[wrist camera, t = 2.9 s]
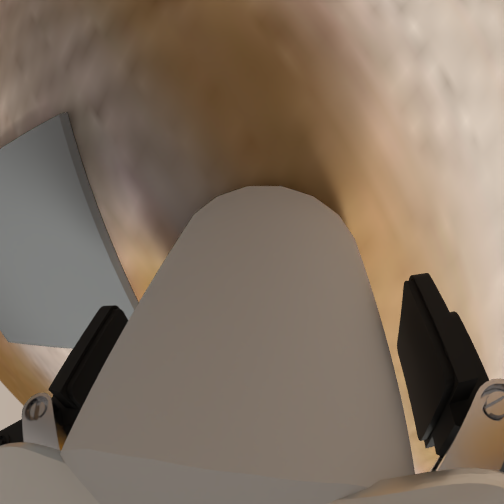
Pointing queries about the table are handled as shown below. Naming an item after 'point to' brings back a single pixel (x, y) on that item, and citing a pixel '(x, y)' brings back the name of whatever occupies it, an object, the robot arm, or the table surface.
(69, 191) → the mat
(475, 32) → the table surface
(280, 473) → the can
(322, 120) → the table surface
